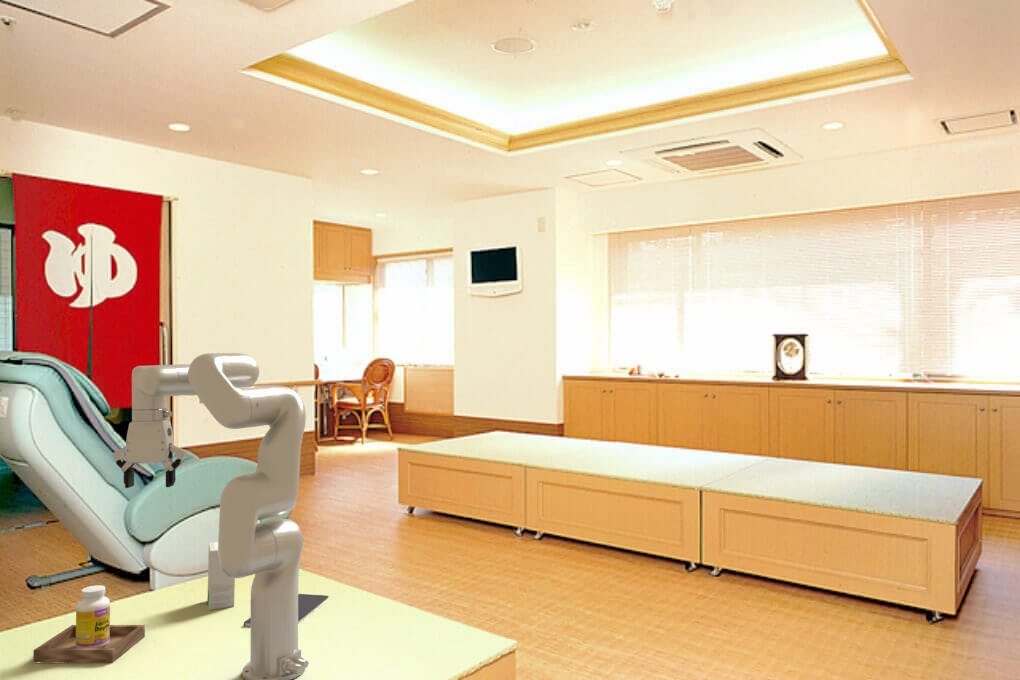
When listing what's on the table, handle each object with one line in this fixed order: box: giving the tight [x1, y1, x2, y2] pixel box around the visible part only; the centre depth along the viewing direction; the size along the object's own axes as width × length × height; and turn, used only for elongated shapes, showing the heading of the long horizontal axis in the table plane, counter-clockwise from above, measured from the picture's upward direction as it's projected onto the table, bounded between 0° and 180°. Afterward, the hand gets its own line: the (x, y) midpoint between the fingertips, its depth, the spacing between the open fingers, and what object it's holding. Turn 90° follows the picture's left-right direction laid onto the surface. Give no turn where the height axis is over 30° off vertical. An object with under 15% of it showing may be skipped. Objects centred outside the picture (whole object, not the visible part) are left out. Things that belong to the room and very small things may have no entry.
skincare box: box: [207, 541, 236, 611], centre depth 193 cm, size 8×7×16 cm
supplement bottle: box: [75, 584, 111, 648], centre depth 164 cm, size 7×7×13 cm
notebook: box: [243, 593, 329, 627], centre depth 187 cm, size 13×2×21 cm
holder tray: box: [32, 624, 146, 664], centre depth 164 cm, size 17×14×3 cm
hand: (149, 486), depth 177 cm, fingers open, 9 cm apart
